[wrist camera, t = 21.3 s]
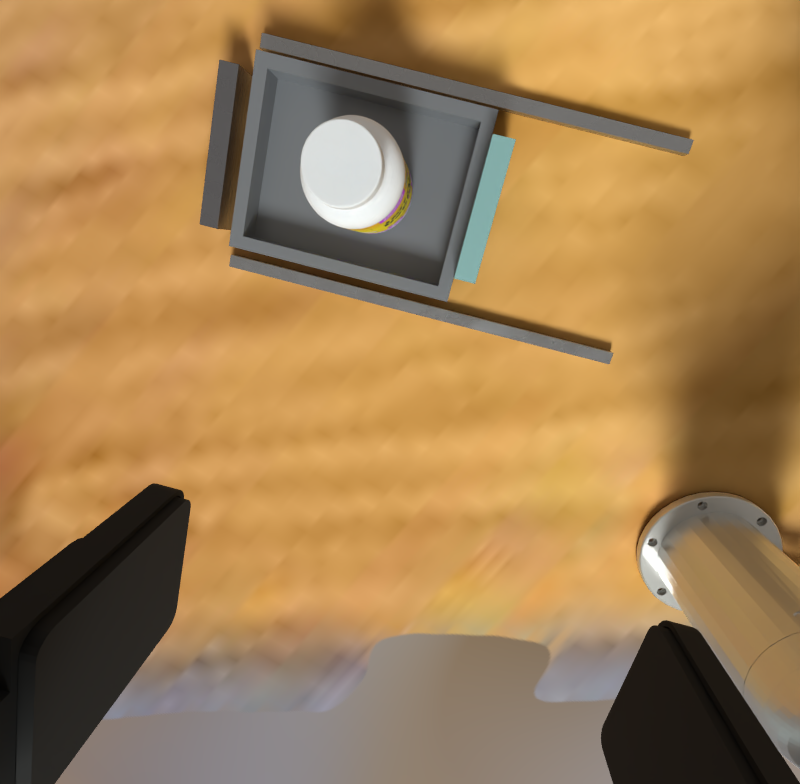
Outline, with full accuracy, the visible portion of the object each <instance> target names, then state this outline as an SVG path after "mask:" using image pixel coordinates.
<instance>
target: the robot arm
mask: <svg viewBox="0 0 800 784" xmlns="http://www.w3.org/2000/svg"><path fill="white" fill-rule="evenodd" d="M190 506H191V504H190V501H189V500H186V499H184V494H183V492H182V491H181V490H178V489H174V488H170V487H167V486H163V485H159V484H151V485H149V486H148V487H147V488H145V489H144V490H143V491H142V492H140V493H139V494H138V495H137V496H135V497H134V498H133V499H131V500H130V501H129V502H128V503H126V504H125V505H124V506H123V507H121V508H120V509H119V510H118V511H116V512H115V513H114V514H113V515H111V516H110V517H109V518H108V519H106V520H105V521H104V522H102V523H101V524H100V525H99V526H97V527H96V528H95V529H94V530H92V531H91V532H90V533H89V534H87V535H86V536H85V537H84V538H80V539H77V540H76V541H74V542H72V543H71V544H69V545H68V546H67V547H66V548H64V549H63V550H62V551H60V552H59V553H58V554H57V555H55V556H54V557H53V558H51V559H50V560H49V561H48V562H46V563H45V564H44V565H43V566H41V567H40V568H39V569H37V570H36V571H35V572H34V573H32V574H31V575H30V576H28V577H27V578H26V579H25V580H23V581H22V582H21V583H19V584H18V585H17V586H16V587H14V588H13V589H12V590H11V591H9V592H8V593H7V594H5V595H4V596H3V597H2V598H0V784H55V783H56V781H57V780H58V778H59V777H60V775H61V774H62V773H63V771H64V770H65V769H66V768H67V766H68V765H69V763H70V762H71V761H72V759H73V758H74V757H75V755H76V754H77V753H78V751H79V750H80V748H81V747H82V745H83V744H84V743H85V742H86V740H87V739H88V738H89V736H90V735H91V733H92V732H93V731H94V729H95V728H96V727H97V725H98V724H99V723H100V721H101V720H102V719H103V717H104V716H105V714H106V713H107V712H108V710H109V709H110V708H111V706H112V705H113V704H114V702H115V701H116V700H117V698H118V697H119V695H120V694H121V693H122V691H123V690H124V689H125V687H126V686H127V685H128V683H129V682H130V680H131V679H132V678H133V676H134V675H135V674H136V672H137V671H138V670H139V668H140V667H141V665H142V664H143V663H144V661H145V660H146V659H147V657H148V656H149V655H150V653H151V652H152V651H153V649H154V648H155V646H156V645H157V644H158V642H159V641H160V640H161V638H162V637H163V636H164V634H165V633H166V631H167V630H168V629H169V627H170V625H171V623H172V621H173V619H174V616H175V613H176V609H177V602H178V595H179V588H180V580H181V573H182V566H183V558H184V551H185V544H186V537H187V529H188V522H189V515H190ZM636 560H637V565H638V570H639V572H640V575H641V577H642V579H643V581H644V582H645V584H646V585H647V587H648V589H649V590H650V591H651V592H652V593H653V595H654V596H655V597H656V598H658V599H659V600H661V601H662V602H663V603H665V604H666V605H668V606H671V607H673V608H675V609H677V610H681V611H683V612H684V614H685V615H686V617H687V619H688V620H689V622H690V623H691V625H692V626H693V627H689V626H686V625H682V624H678V623H674V622H671V621H667V620H666V621H662V622H661V623H659V625H658V626H656V625H655V626H652V627H650V629H649V630H648V632H647V634H646V636H645V639H644V641H643V643H642V645H641V647H640V649H639V651H638V653H637V655H636V657H635V660H634V662H633V664H632V666H631V668H630V670H629V672H628V674H627V676H626V678H625V681H624V683H623V685H622V687H621V689H620V691H619V693H618V695H617V697H616V699H615V701H614V704H613V706H612V708H611V710H610V712H609V714H608V716H607V718H606V720H605V723H604V725H603V728H602V732H601V743H602V748H603V752H604V755H605V758H606V762H607V765H608V768H609V771H610V774H611V778H612V781H613V784H800V783H799V781H798V780H797V778H796V777H795V775H794V774H793V772H792V771H791V769H790V768H789V766H788V765H787V763H786V762H785V760H784V758H783V757H782V755H783V756H784V757H785V758H787V759H788V760H789V761H790V762H791V763H793V764H794V765H795V766H797V767H798V768H799V769H800V567H799V566H798V565H797V564H796V563H794V562H793V561H792V560H791V559H790V558H789V557H788V556H787V555H786V554H785V553H783V547H782V538H781V535H780V533H779V530H778V527H777V526H776V524H775V523H774V522H773V520H772V519H771V517H770V516H769V515H767V514H766V513H765V512H764V511H763V510H762V509H761V508H759V507H758V506H757V505H755V504H754V503H753V502H751V501H749V500H747V499H745V498H743V497H741V496H737V495H733V494H729V493H722V492H705V493H698V494H693V495H689V496H686V497H683V498H681V499H679V500H676V501H674V502H672V503H671V504H669V505H667V506H666V507H664V508H663V509H661V510H660V511H659V512H658V513H657V514H656V515H655V516H654V517H652V519H651V520H650V521H649V523H648V524H647V525H646V526H645V528H644V530H643V532H642V534H641V536H640V538H639V542H638V546H637V557H636ZM781 754H782V755H781Z"/></svg>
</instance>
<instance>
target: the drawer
mask: <svg viewBox="0 0 800 784" xmlns="http://www.w3.org/2000/svg"><path fill="white" fill-rule="evenodd" d="M498 111H499V110H497V109H493V108H489V107H485V106H481V105H477V104H473V103H469V102H465V101H461V100H457V99H453V98H449V97H445V96H441V95H437V94H433V93H429V92H425V91H421V90H417V89H413V88H409V87H405V86H401V85H397V84H393V83H389V82H385V81H381V80H377V79H373V78H369V77H365V76H361V75H357V74H353V73H349V72H345V71H341V70H337V69H333V68H329V67H325V66H321V65H317V64H313V63H309V62H305V61H301V60H297V59H293V58H289V57H285V56H281V55H277V54H273V53H269V52H265V51H260V50H256V55H255V62H254V69H253V76H252V84H251V91H250V98H249V105H248V112H247V120H246V127H245V134H244V141H243V149H242V156H241V163H240V170H239V178H238V185H237V192H236V199H235V206H234V214H233V221H232V228H231V235H230V243H229V246H231V247H235V248H239V249H243V250H247V251H251V252H255V253H259V254H263V255H266V256H270V257H274V258H278V259H282V260H286V261H290V262H294V263H298V264H301V265H305V266H309V267H313V268H317V269H321V270H325V271H329V272H333V273H336V274H340V275H344V276H348V277H352V278H356V279H360V280H364V281H368V282H371V283H375V284H379V285H383V286H387V287H391V288H395V289H399V290H403V291H406V292H410V293H414V294H418V295H422V296H426V297H430V298H434V299H438V300H441V301H445V302H447V300H448V297H449V293H450V289H451V285H452V282H453V278H455V279H459V280H463V281H467V282H470V283H474V284H475V282H476V278H477V275H478V271H479V268H480V264H481V261H482V257H483V254H484V250H485V246H486V243H487V239H488V236H489V232H490V229H491V225H492V222H493V218H494V215H495V211H496V207H497V204H498V200H499V197H500V193H501V190H502V186H503V183H504V179H505V176H506V172H507V168H508V165H509V161H510V158H511V154H512V151H513V147H514V144H515V140H516V139H512V138H508V137H504V136H500V135H496V134H493V135H492V133H493V129H494V126H495V122H496V118H497V114H498ZM344 115H358V116H363V117H366V118H369V119H372V120H374V121H376V122H377V123H379V124H380V125H382V126H383V127H384V128H385V129H386V130H388V131H389V133H390V134H391V135H392V136H393V138H394V139H395V141H396V142H397V144H398V146H399V148H400V150H401V153H402V155H403V157H404V160H405V162H406V164H407V167H408V169H409V172H410V175H411V179H412V185H413V194H412V200H411V204H410V207H409V209H408V211H407V213H406V215H405V216H404V217H403V219H402V220H401V221H400V222H399V223H398V224H397V225H395V226H394V227H393V228H391V229H389V230H387V231H384V232H381V233H373V234H368V233H361V232H357V231H353V230H350V229H346V228H342V227H338V226H336V225H334V224H331V223H329V222H328V221H326V220H325V219H323V218H322V217H321V216H320V215H318V214H317V212H316V211H315V210H314V209H313V208H312V206H311V205H310V203H309V202H308V200H307V198H306V196H305V194H304V191H303V188H302V184H301V178H300V164H301V153H302V149H303V146H304V143H305V141H306V139H307V138H308V136H309V135H310V133H311V132H312V131H313V130H314V129H315V128H316V127H317V126H319V125H320V124H322V123H324V122H326V121H328V120H331V119H333V118H336V117H339V116H344ZM491 137H492V138H491Z"/></svg>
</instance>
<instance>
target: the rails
mask: <svg viewBox="0 0 800 784" xmlns="http://www.w3.org/2000/svg"><path fill="white" fill-rule="evenodd" d="M260 48H261V49H262V50H263V51H265V52H269V53H273V54H277V55H281V56H285V57H289V58H293V59H297V60H301V61H305V62H309V63H313V64H317V65H321V66H325V67H329V68H333V69H337V70H341V71H345V72H349V73H353V74H357V75H361V76H365V77H369V78H373V79H377V80H381V81H385V82H389V83H393V84H397V85H401V86H405V87H409V88H413V89H417V90H421V91H425V92H429V93H433V94H437V95H441V96H445V97H449V98H454V99H458V100H462V101H466V102H470V103H474V104H478V105H482V106H486V107H490V108H494V109H498V110H502V111H506V112H510V113H514V114H518V115H522V116H526V117H530V118H534V119H538V120H542V121H546V122H550V123H554V124H558V125H562V126H566V127H570V128H574V129H578V130H582V131H586V132H590V133H594V134H598V135H602V136H606V137H610V138H614V139H618V140H622V141H626V142H630V143H634V144H638V145H642V146H646V147H650V148H654V149H658V150H662V151H666V152H670V153H674V154H678V155H682V156H685V155H687V154H689V151H690V149H691V146H692V143H693V141H694V140H692V139H688V138H684V137H680V136H676V135H672V134H668V133H664V132H660V131H656V130H652V129H648V128H643V127H639V126H635V125H631V124H627V123H623V122H619V121H615V120H611V119H607V118H603V117H599V116H595V115H591V114H587V113H583V112H579V111H575V110H571V109H567V108H563V107H559V106H555V105H551V104H547V103H543V102H539V101H535V100H531V99H527V98H523V97H519V96H515V95H511V94H507V93H503V92H499V91H495V90H491V89H487V88H483V87H478V86H474V85H470V84H466V83H462V82H458V81H454V80H450V79H446V78H442V77H438V76H434V75H430V74H426V73H422V72H418V71H414V70H410V69H406V68H402V67H398V66H394V65H390V64H386V63H382V62H378V61H374V60H370V59H366V58H362V57H358V56H354V55H350V54H346V53H342V52H338V51H334V50H330V49H326V48H322V47H317V46H313V45H309V44H305V43H301V42H297V41H293V40H289V39H285V38H281V37H277V36H273V35H269V34H265V33H262V37H261V44H260ZM251 84H252V76H251V75H250V74H249V73H248V72H247V71H246V70H244V69H243V68H242V67H241V66H240V65H239V64H235V63H231V62H227V61H223V60H219V68H218V76H217V85H216V93H215V101H214V110H213V118H212V126H211V135H210V143H209V151H208V159H207V168H206V176H205V184H204V193H203V201H202V209H201V218H200V224H201V225H205V226H209V227H212V228H216V229H226V230H231V228H232V221H233V214H234V206H235V199H236V192H237V185H238V178H239V170H240V163H241V156H242V149H243V141H244V134H245V127H246V120H247V112H248V105H249V98H250V91H251ZM229 266H230V267H234V268H238V269H242V270H246V271H250V272H254V273H257V274H261V275H265V276H269V277H273V278H277V279H281V280H285V281H288V282H292V283H296V284H300V285H304V286H308V287H312V288H316V289H319V290H323V291H327V292H331V293H335V294H339V295H343V296H347V297H350V298H354V299H358V300H362V301H366V302H370V303H374V304H378V305H381V306H385V307H389V308H393V309H397V310H401V311H405V312H409V313H412V314H416V315H420V316H424V317H428V318H432V319H436V320H440V321H444V322H447V323H451V324H455V325H459V326H463V327H467V328H471V329H475V330H478V331H482V332H486V333H490V334H494V335H498V336H502V337H506V338H509V339H513V340H517V341H521V342H525V343H529V344H533V345H537V346H540V347H544V348H548V349H552V350H556V351H560V352H564V353H568V354H571V355H575V356H579V357H583V358H587V359H591V360H595V361H599V362H602V363H606V364H610V361H611V358H612V356H613V353H612V352H611V351H607V350H603V349H599V348H595V347H592V346H588V345H584V344H580V343H576V342H572V341H568V340H564V339H560V338H557V337H553V336H549V335H545V334H541V333H537V332H533V331H529V330H526V329H522V328H518V327H514V326H510V325H506V324H502V323H498V322H494V321H491V320H487V319H483V318H479V317H475V316H471V315H467V314H463V313H459V312H456V311H452V310H448V309H444V308H440V307H436V306H432V305H428V304H425V303H421V302H417V301H413V300H409V299H405V298H401V297H397V296H393V295H390V294H386V293H382V292H378V291H374V290H370V289H366V288H362V287H359V286H355V285H351V284H347V283H343V282H339V281H335V280H331V279H327V278H324V277H320V276H316V275H312V274H308V273H304V272H300V271H296V270H292V269H289V268H285V267H281V266H277V265H273V264H269V263H265V262H261V261H258V260H254V259H250V258H246V257H242V256H238V255H231V258H230V265H229Z"/></svg>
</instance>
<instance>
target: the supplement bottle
mask: <svg viewBox="0 0 800 784" xmlns="http://www.w3.org/2000/svg"><path fill="white" fill-rule="evenodd" d="M300 178H301V184H302V188H303V191H304V194H305V196H306V198H307V200H308V202H309V203H310V205H311V206H312V208H313V209H314V210H315V211H316V212H317V214H318V215H320V216H321V217H322V218H323V219H325V220H326V221H328V222H329V223H331V224H334V225H336V226H338V227H342V228H346V229H350V230H353V231H357V232H361V233H368V234H373V233H381V232H384V231H387V230H389V229H391V228H393V227H394V226H395V225H397V224H398V223H399V222H400V221H401V220H402V219H403V217H404V216H405V215H406V213H407V211H408V209H409V207H410V204H411V200H412V194H413V185H412V179H411V175H410V172H409V169H408V167H407V164H406V162H405V160H404V157H403V155H402V153H401V150H400V148H399V146H398V144H397V142H396V141H395V139H394V138H393V136H392V135H391V134H390V133H389V131H388V130H386V129H385V128H384V127H383V126H382V125H380V124H379V123H377V122H376V121H374V120H372V119H369V118H366V117H363V116H358V115H344V116H339V117H336V118H333V119H331V120H328V121H326V122H324V123H322V124H320V125H319V126H317V127H316V128H315V129H314V130H313V131H312V132H311V133H310V135H309V136H308V138H307V139H306V141H305V143H304V146H303V149H302V153H301V164H300Z"/></svg>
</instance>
